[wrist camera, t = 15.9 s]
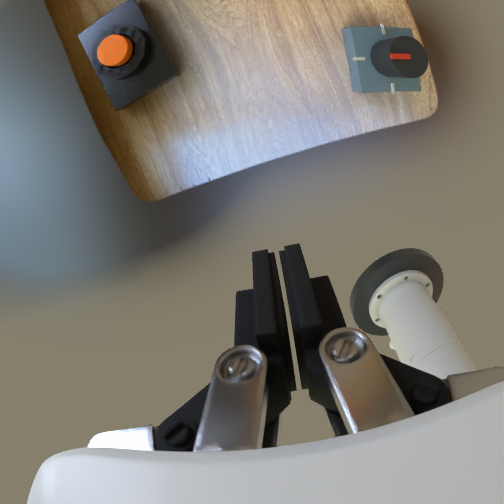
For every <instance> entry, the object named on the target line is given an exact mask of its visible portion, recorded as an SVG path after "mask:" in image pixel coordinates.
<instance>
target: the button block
mask: <svg viewBox="0 0 504 504" xmlns="http://www.w3.org/2000/svg"><path fill="white" fill-rule="evenodd" d="M114 34H118V35H121V36H125V37H127V38H129V39H130V40H131V42H132V44H133V53H132V55H131V57H130V59H129V60H128V61H127V62H126V63H124V64H122V65H120V66H106V65H104V64H102V63H101V62H100V61H99V59H98V56H97V50H98V47H99V45H100V43H101V42H102V41H103V40H104V39H105V38H106V37H108V36H110V35H114ZM78 37H79V39H80V41H81V43H82V45H83V47H84V49H85V51H86V53H87V55H88V57H89V59H90V61H91V63H92V65H93V67H94V69H95V71H96V73H97V75H98V77H99V79H100V81H101V82H102V84H103V86H104V88H105V90H106V92H107V94H108V96H109V98H110V100H111V101H112V103H113V105H114V107H115V109H116V111H119V110H122V109H125V108H126V107H128V106H129V105H131V104H132V103H134V102H136V101H137V100H139V99H140V98H142V97H144V96H145V95H147V94H149V93H150V92H152V91H154V90H155V89H157V88H159V87H160V86H162V85H164V84H166V83H167V82H169V81H171V80H173V79H175V78H177V77H178V76H180V75H179V73H178V71H177V70H176V68H175V66H174V64H173V62H172V60H171V58H170V56H169V55H168V53H167V51H166V49H165V47H164V45H163V43H162V42H161V40H160V38H159V36H158V34H157V32H156V31H155V29H154V27H153V25H152V23H151V21H150V20H149V18H148V16H147V14H146V12H145V10H144V9H143V7H142V5H141V3H140V1H138V0H128V1H126V2H124V3H123V4H121V5H120V6H118V7H117V8H115V9H114V10H112V11H111V12H109V13H108V14H106V15H105V16H103V17H102V18H100V19H99V20H98V21H96V22H95V23H94V24H92V25H91V26H89V27H88V28H87V29H86V30H84V31H83V32H82V33H80V34H79V35H78Z"/></svg>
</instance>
